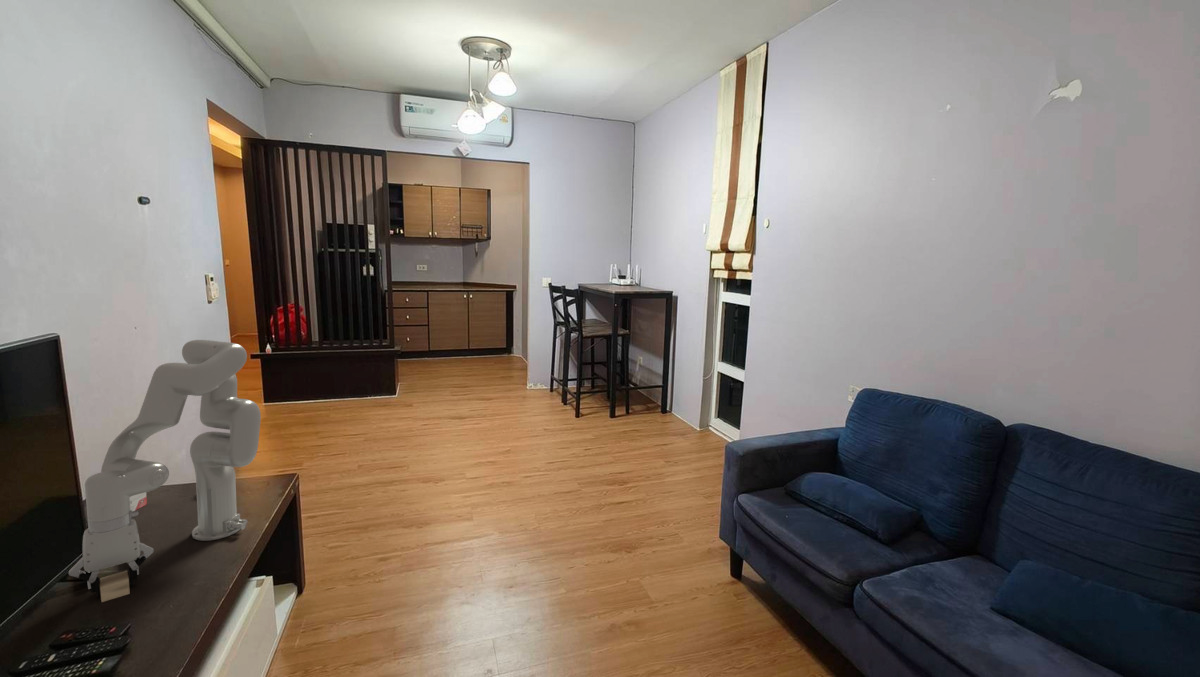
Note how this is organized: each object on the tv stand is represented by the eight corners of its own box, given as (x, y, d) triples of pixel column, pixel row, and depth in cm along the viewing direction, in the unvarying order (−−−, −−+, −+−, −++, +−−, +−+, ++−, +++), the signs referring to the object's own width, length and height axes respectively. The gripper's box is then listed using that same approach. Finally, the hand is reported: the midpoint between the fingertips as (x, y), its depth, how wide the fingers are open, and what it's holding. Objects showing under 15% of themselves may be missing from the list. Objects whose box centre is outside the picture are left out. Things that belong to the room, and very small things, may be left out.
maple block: (100, 592, 123) (99, 578, 123) (128, 584, 127) (127, 570, 126) (101, 602, 120) (100, 587, 119) (129, 594, 124) (128, 579, 123)
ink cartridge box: (133, 503, 165) (130, 461, 163) (147, 504, 165) (145, 462, 163) (107, 516, 157) (103, 472, 154) (122, 517, 157) (119, 473, 154)
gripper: (154, 505, 130) (158, 568, 133) (58, 526, 118) (65, 595, 120) (158, 516, 125) (162, 581, 128) (58, 540, 113) (64, 611, 115)
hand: (115, 587), depth 124 cm, fingers open, 5 cm apart
